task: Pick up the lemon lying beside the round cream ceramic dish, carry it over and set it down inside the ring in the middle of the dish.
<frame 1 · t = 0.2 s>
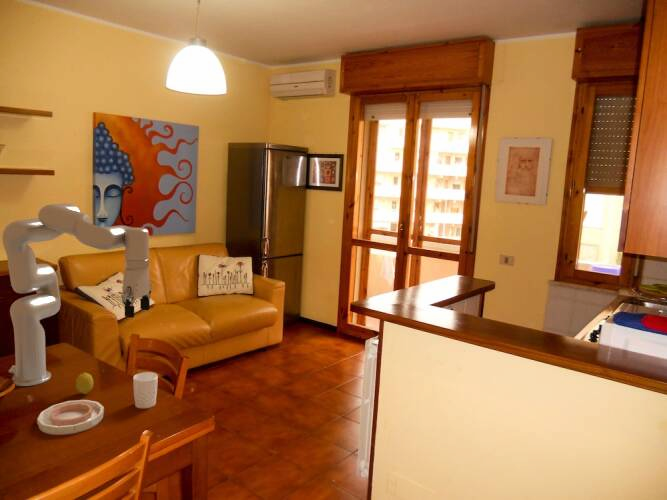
hand: (137, 313, 170), 31 cm above the table, tool pointing down, fingers open, 9 cm apart
fruit dish: (71, 420, 156), on the table
white cup: (145, 404, 170), on the table
lemon: (84, 394, 175), on the table
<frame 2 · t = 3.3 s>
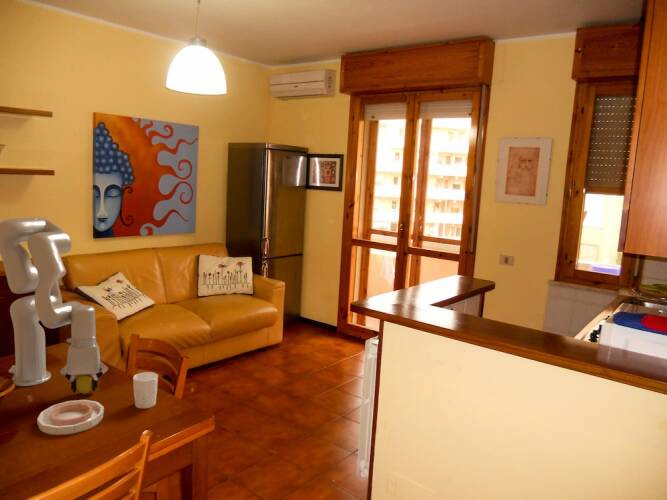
hand: (84, 390, 174), 2 cm above the table, tool pointing down, fingers closed on lemon, 5 cm apart
lemon: (84, 394, 175), on the table, touching gripper
everything else where it was.
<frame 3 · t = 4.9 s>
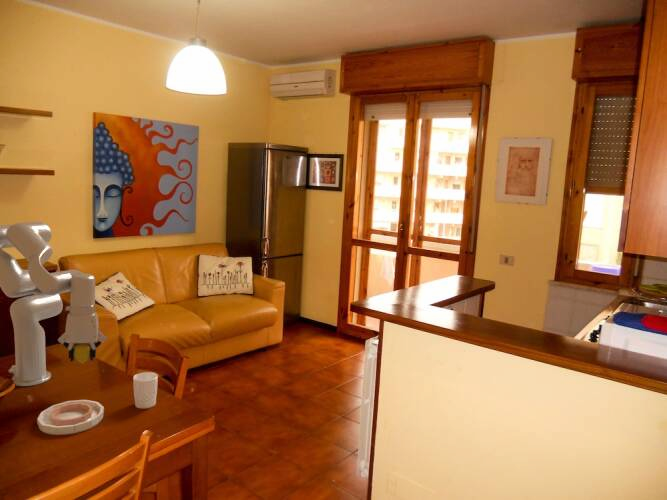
hand: (82, 359, 173), 13 cm above the table, tool pointing down, fingers closed on lemon, 5 cm apart
lemon: (82, 363, 173), point 11 cm above the table, touching gripper
everything else where it was.
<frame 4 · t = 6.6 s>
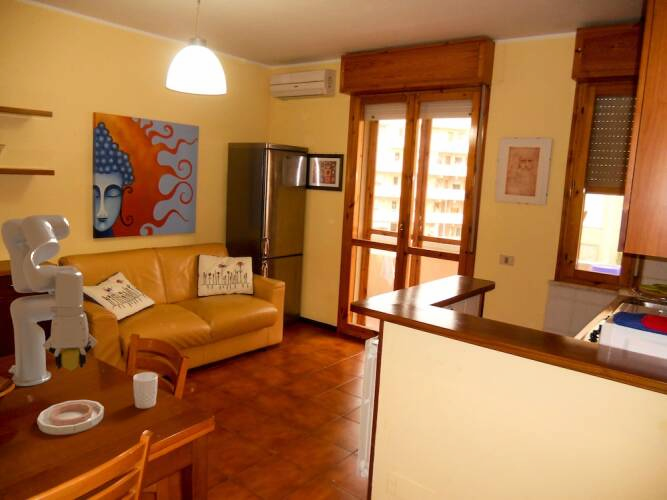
hand: (71, 366, 154), 18 cm above the table, tool pointing down, fingers closed on lemon, 5 cm apart
lemon: (71, 371, 155), point 16 cm above the table, touching gripper
everything else where it was.
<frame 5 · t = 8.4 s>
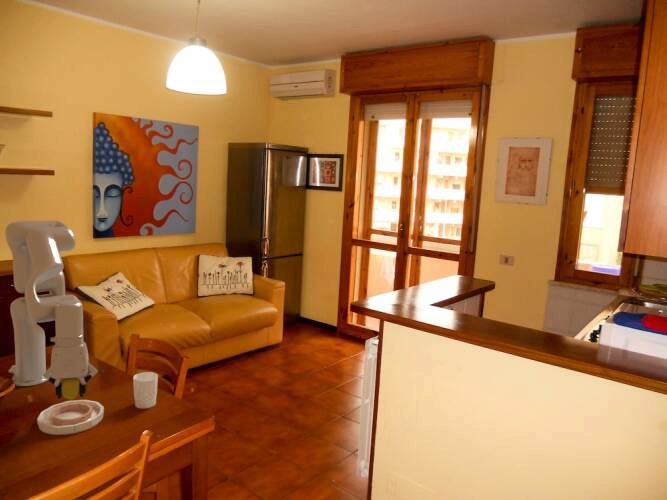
hand: (71, 395, 155), 8 cm above the table, tool pointing down, fingers closed on lemon, 5 cm apart
lemon: (71, 400, 155), point 7 cm above the table, touching gripper
everything else where it was.
when the fingers open (4 cm above the table, at t = 9.7 s): lemon drops 1 cm, resting on fruit dish.
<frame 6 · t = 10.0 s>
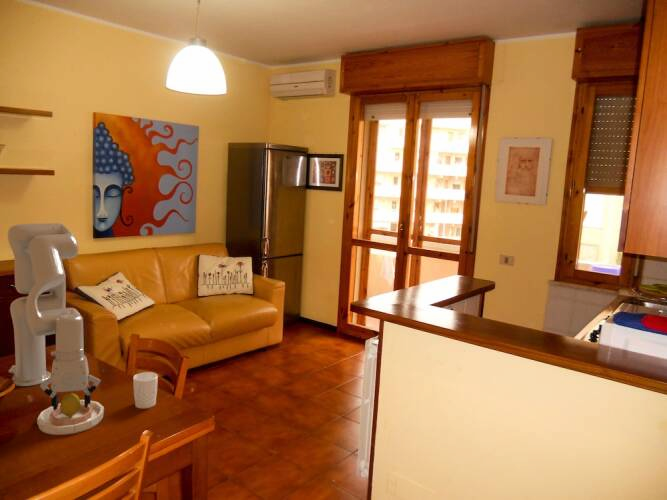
hand: (71, 406, 156), 5 cm above the table, tool pointing down, fingers open, 8 cm apart
lemon: (70, 417, 156), point 1 cm above the table, touching fruit dish
everything else where it was.
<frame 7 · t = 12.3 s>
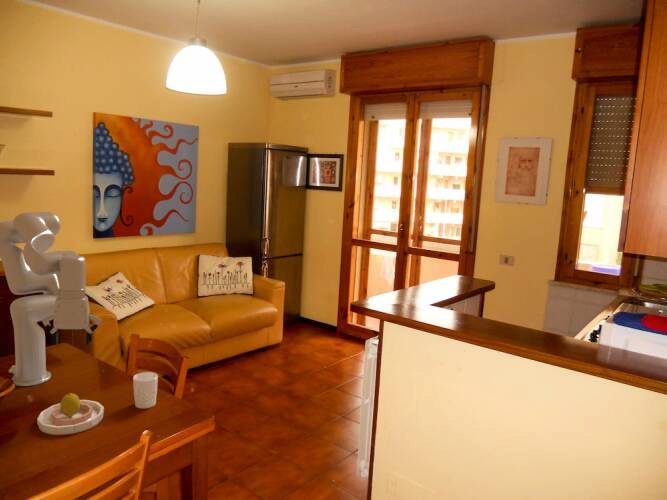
hand: (72, 343, 162), 22 cm above the table, tool pointing down, fingers open, 9 cm apart
nothing on the table moved.
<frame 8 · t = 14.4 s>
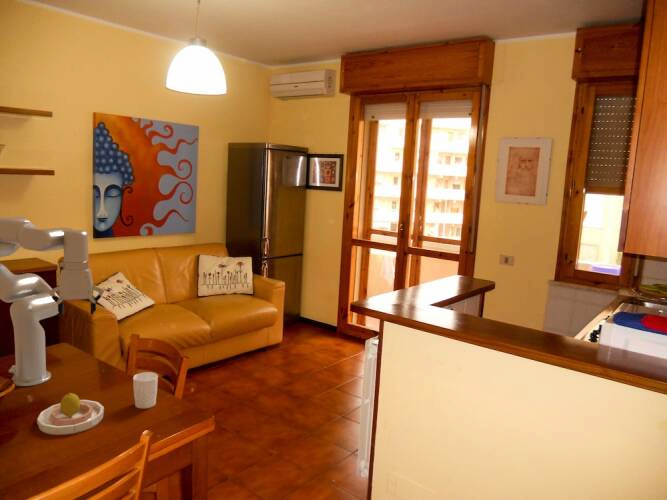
hand: (77, 313, 173), 28 cm above the table, tool pointing down, fingers open, 9 cm apart
nothing on the table moved.
at the end: lemon inside the target area on the fruit dish (0.3 cm from its centre), point 0.8 cm above the fruit dish's base; the gripper is holding nothing; lemon touching fruit dish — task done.
